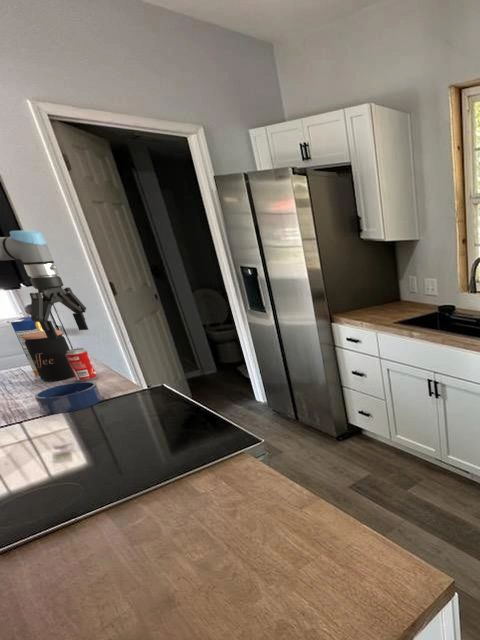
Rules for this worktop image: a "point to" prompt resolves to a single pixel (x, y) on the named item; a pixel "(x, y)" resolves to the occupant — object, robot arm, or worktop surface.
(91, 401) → the blue bowl
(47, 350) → the coffee jar
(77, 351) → the beverage can
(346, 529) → the worktop surface
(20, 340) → the beverage box
